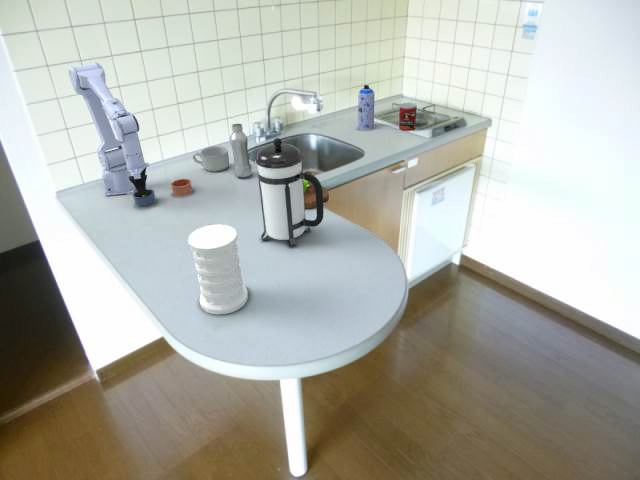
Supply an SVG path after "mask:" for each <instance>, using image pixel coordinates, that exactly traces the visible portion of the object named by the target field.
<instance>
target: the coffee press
mask: <svg viewBox="0 0 640 480" xmlns="http://www.w3.org/2000/svg"><path fill="white" fill-rule="evenodd" d="M254 160H255V161H254V163H255V164H256V165H257V171H256V173H257V179H258V188H259V196H260V197H259V198H260V206H261V214H262V225H263V233H262V234H261V236H260V238H261V240H262V242H266V241H267V240H269V238H271V239H274V240H278V241H288V244H289V247H290V248H292V247H296V242H295V239H296V238H298V237H300V236H301V235H303V233H304V232H306V233H308V232H310V230H311V228H315V227H318V226H319V225H320V224H321V223H322V221H323V220H324V214H325V213H324V203H323V191H322V187H323V186H321V185H322V183H321V182H320V180H319V179H318V178H317V177H316V176H315V175H314V176H313V175H311V174H310V173H306V174H305V172H304V169H303V165H302V162H303V153H302V152H301V151H300V149H299V148H298V147H297V146H295V145H293V144H289V143H283V141H282V139H281V138H279V137H276V138H274V140H273V142H272V144H269V145H266V146H263V147H262V148H260V150H258V152H257V154H256V156H255V159H254ZM304 179H305V180H307V181H309V182H311V183H312V184H313V186H314V188H315V192H316V207H315V210H316V217H315V219H314V220H311V219H306V217H307V216H306V209H305V203H304V188H303V180H304ZM306 227H307V229H306ZM265 235H266V236H265ZM264 237H265V238H264Z"/></svg>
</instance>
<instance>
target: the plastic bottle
mask: <svg viewBox="0 0 640 480" xmlns="http://www.w3.org/2000/svg"><path fill="white" fill-rule="evenodd" d="M243 129H244V128H243V124H242V123H233V124H232V125H231V132H232V133H231V134H230V136H229V143H230V146H231V151H232V155H233V162H234V163H233V165H234V166H233V171H234V174H235V176H236V177H237V178H248V177H250V176H251V175H252V174H253V173H252V172H253V171H252V170H253V168H252V165H251V162H250V158H249V150H248V149H249V147H248V142H249V141H248V136H247V134H245V132H244V131H243Z"/></svg>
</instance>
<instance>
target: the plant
mask: <svg viewBox="0 0 640 480" xmlns="http://www.w3.org/2000/svg"><path fill="white" fill-rule="evenodd" d="M304 173H305V174H306V173H308V174H311V175H313V176H315V174H314V172H312V171H310V170H308V171H305V172H304ZM321 186H322V184H321ZM303 188H304V203H305V210H306V209H313V208H316V192H315V188H314V186H313V184H312V183H311V182H309V181H307V180H305V179H303ZM322 191H323V204H325V203H328V201H329V199H330V195H329V191H328V190H327V189H326V188H325V187H324V186H322Z"/></svg>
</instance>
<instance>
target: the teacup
mask: <svg viewBox="0 0 640 480" xmlns="http://www.w3.org/2000/svg"><path fill="white" fill-rule="evenodd" d="M196 156H199V158H200V159H201V160H199V159H197V158H196ZM192 159H193V161H194V162H195V163H197V164H199V165H201V166H202V167H203V168H204V169H205V170H207V171H209V172H212V173H215V172H221V171H224V170H225V169H226V168H227V167H228V166H229V164H230V155H229V148H228V147H226V146H224V145H211V146H207V147H204V148H202V149H201V151H200V152H199V151H196V152H193V154H192Z"/></svg>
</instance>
